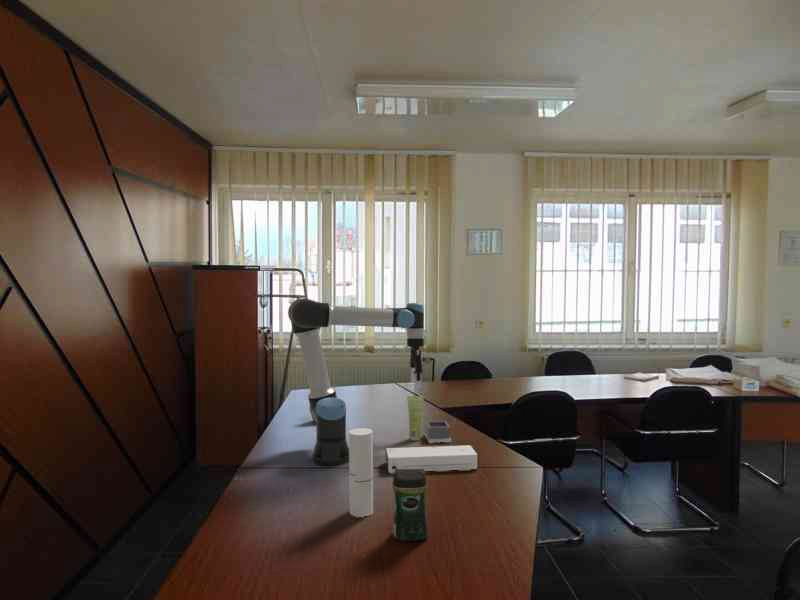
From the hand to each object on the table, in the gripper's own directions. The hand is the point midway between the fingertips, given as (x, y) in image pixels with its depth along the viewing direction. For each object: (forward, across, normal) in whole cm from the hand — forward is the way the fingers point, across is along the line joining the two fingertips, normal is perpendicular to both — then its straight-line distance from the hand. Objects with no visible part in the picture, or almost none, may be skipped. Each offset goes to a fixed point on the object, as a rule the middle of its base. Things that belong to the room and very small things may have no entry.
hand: (416, 384), depth 226 cm
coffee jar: (+24, -85, +14) cm, 90 cm away
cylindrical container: (+24, -69, +27) cm, 78 cm away
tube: (+25, 0, 0) cm, 25 cm away
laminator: (+25, -34, 0) cm, 42 cm away
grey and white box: (+25, 0, -10) cm, 26 cm away
